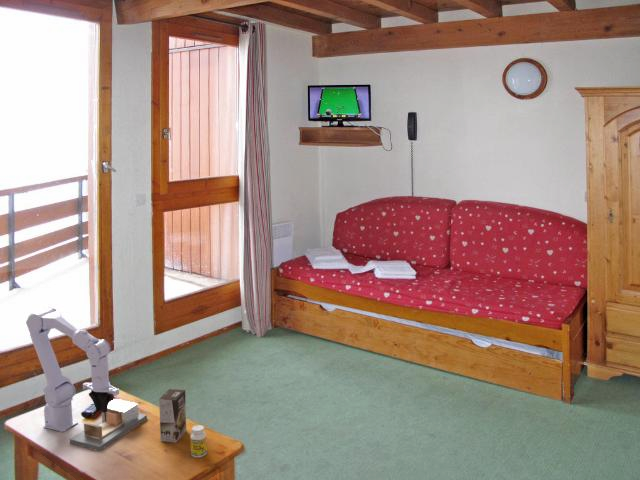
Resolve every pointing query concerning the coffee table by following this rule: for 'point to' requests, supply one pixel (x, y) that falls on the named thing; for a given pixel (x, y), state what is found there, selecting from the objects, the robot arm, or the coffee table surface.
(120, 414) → the block
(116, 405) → the tunnel
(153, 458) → the coffee table surface
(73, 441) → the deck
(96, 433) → the sled
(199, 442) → the supplement bottle
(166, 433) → the coffee box
